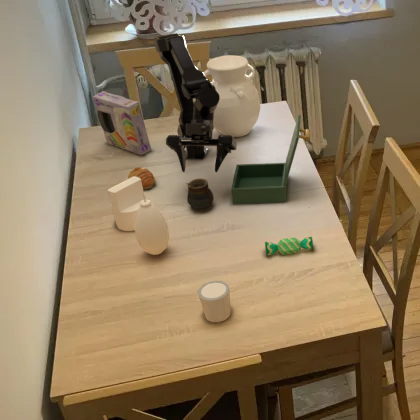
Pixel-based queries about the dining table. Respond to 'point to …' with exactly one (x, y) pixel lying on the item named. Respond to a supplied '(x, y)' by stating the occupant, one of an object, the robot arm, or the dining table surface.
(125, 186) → the base with upright slab
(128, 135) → the cake pan box
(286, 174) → the green box lid
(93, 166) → the dining table surface
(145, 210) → the bulb air blower
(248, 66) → the cream handled vase
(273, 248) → the candy
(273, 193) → the green open box
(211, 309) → the white cylinder
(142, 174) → the pastry
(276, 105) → the dining table surface
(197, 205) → the mate gourd
